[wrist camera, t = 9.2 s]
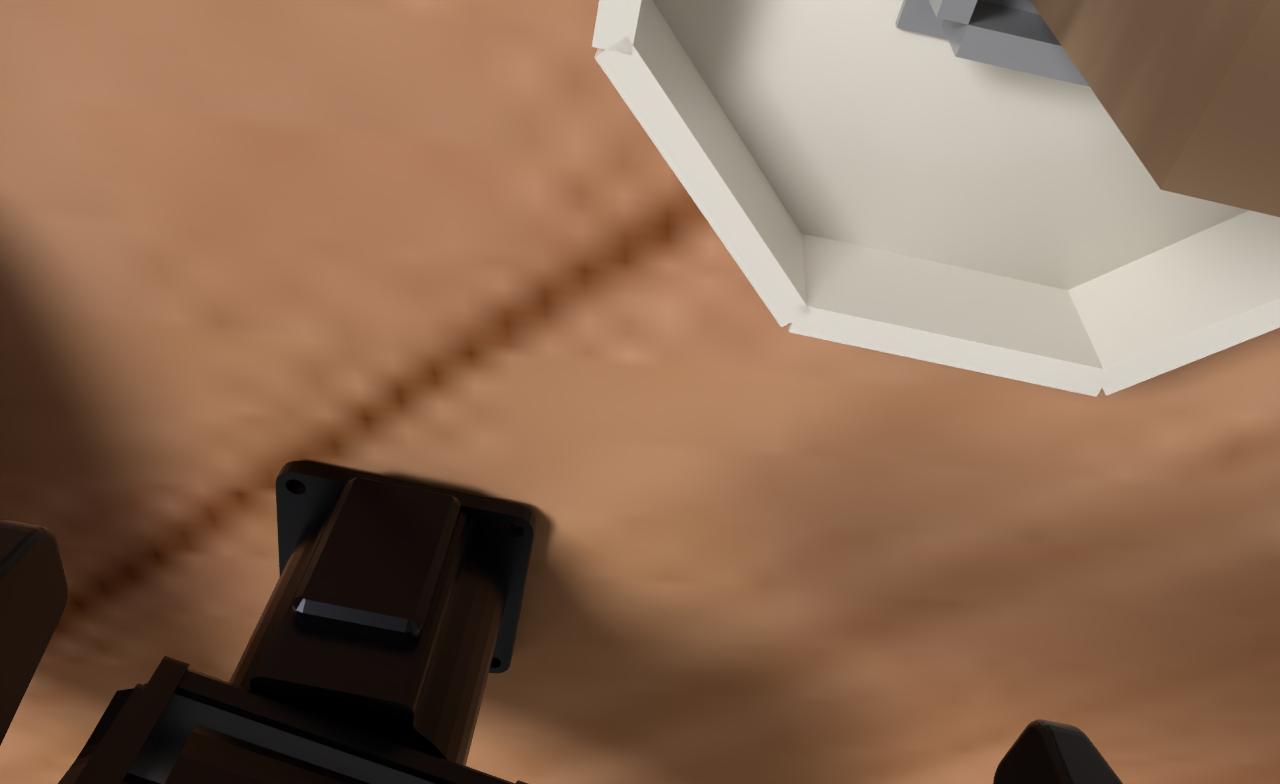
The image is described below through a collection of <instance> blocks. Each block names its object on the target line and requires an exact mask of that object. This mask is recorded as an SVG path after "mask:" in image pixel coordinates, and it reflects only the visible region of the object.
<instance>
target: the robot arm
mask: <svg viewBox="0 0 1280 784" xmlns="http://www.w3.org/2000/svg"><path fill="white" fill-rule="evenodd" d="M294 479H296V480H298V481H301V482H302V483H299V482H297V481H295V480H294ZM276 501H277V523H278V545H279V567H280V578H279V580H278V582H277V585H276V587H275V589H274V591H273V593H272V595H271V597H270V599H269V601H268V603H267V605H266V607H265V609H264V611H263V613H262V616H261V618H260V620H259V622H258V624H257V626H256V628H255V630H254V632H253V634H252V636H251V638H250V640H249V642H248V644H247V647H246V649H245V651H244V653H243V655H242V657H241V659H240V661H239V663H238V665H237V667H236V669H235V671H234V673H233V676H232V678H231V680H230V682H229V683H228V682H225V681H222V680H219V679H216V678H213V677H211V676H208V675H205V674H202V673H199V672H196V671H193V670H191V669H189V666H190V664H187V663H184V662H181V661H179V660H176V659H173V658H170V657H167V656H165V657H164V658H163V660H162V661H161V663H160V665H159V666H158V668H157V669H156V671H155V673H154V674H153V676H152V677H151V679H150V681H149V682H148V684H145V685H141V684H137V686H136V687H135V688H133V689H127V690H120V691H117V692H116V694H115V695H114V697H113V699H112V700H111V702H110V704H109V706H108V707H107V709H106V711H105V712H104V714H103V716H102V718H101V719H100V721H99V723H98V724H97V726H96V728H95V730H94V731H93V733H92V735H91V736H90V738H89V740H88V741H87V743H86V745H85V746H84V748H83V749H82V751H81V753H80V754H79V756H78V757H77V759H76V760H75V762H74V763H73V764H72V766H71V767H70V769H69V770H68V771H67V772H66V774H65V775H64V776H63V778H62V779H61V780H60V781H59V783H58V784H528V783H525V782H522V781H519V780H518V781H517V782H516V783H512V782H509V781H507V780H504V779H501V778H498V777H495V776H492V775H489V774H487V773H484V772H481V771H478V770H475V769H472V768H470V767H467V766H466V762H467V758H468V754H469V750H470V746H471V742H472V738H473V734H474V730H475V726H476V722H477V718H478V714H479V710H480V706H481V702H482V698H483V693H484V689H485V685H486V681H487V677H488V673H501V672H504V671H506V670H508V668H509V666H510V663H511V658H512V654H513V648H514V643H515V637H516V632H517V626H518V621H519V615H520V610H521V604H522V599H523V593H524V588H525V582H526V577H527V571H528V566H529V560H530V555H531V549H532V544H533V538H534V533H535V527H536V517H535V515H534V514H533V512H532V511H530V510H529V509H528V508H526V507H523V506H520V505H516V504H511V503H506V502H501V501H496V500H491V499H486V498H481V497H476V496H471V495H466V494H461V493H456V492H451V491H446V490H441V489H436V488H431V487H426V486H421V485H416V484H411V483H406V482H401V481H396V480H391V479H386V478H381V477H376V476H371V475H366V474H361V473H356V472H351V471H345V470H340V469H335V468H330V467H325V466H320V465H315V464H310V463H305V462H298V461H292V462H289V463H287V464H285V465H284V466H283V468H282V469H281V471H280V473H279V475H278V477H277V480H276ZM511 523H516V524H519V525H521V526H515V525H512V524H511ZM66 599H67V582H66V578H65V574H64V570H63V566H62V562H61V558H60V554H59V550H58V546H57V541H56V538H55V535H54V533H53V532H52V531H51V530H50V529H49V528H47V527H44V526H40V525H35V524H30V523H24V522H19V521H14V520H2V521H0V745H1V743H2V741H3V739H4V737H5V734H6V732H7V730H8V728H9V726H10V724H11V722H12V720H13V717H14V715H15V713H16V711H17V709H18V707H19V705H20V703H21V700H22V698H23V696H24V694H25V692H26V690H27V688H28V685H29V683H30V681H31V679H32V677H33V675H34V673H35V671H36V668H37V666H38V664H39V662H40V660H41V658H42V656H43V653H44V651H45V649H46V647H47V645H48V643H49V641H50V639H51V636H52V634H53V632H54V630H55V628H56V626H57V624H58V621H59V619H60V617H61V615H62V613H63V610H64V607H65V604H66ZM993 784H1123V783H1122V782H1121V780H1120V779H1119V778H1118V776H1117V775H1116V774H1115V773H1114V771H1113V770H1112V769H1111V767H1110V766H1109V765H1108V763H1107V762H1106V761H1105V759H1104V758H1103V757H1102V755H1101V754H1100V753H1099V751H1098V750H1097V749H1096V747H1095V746H1094V745H1093V743H1092V742H1091V741H1090V739H1089V738H1088V737H1087V736H1086V735H1085V734H1084V733H1083V732H1082V731H1081V730H1080V729H1078V728H1077V727H1074V726H1071V725H1067V724H1062V723H1057V722H1052V721H1046V720H1035V721H1033V722H1031V723H1030V724H1029V725H1028V726H1027V727H1026V728H1025V730H1024V731H1023V732H1022V734H1021V735H1020V736H1019V738H1018V739H1017V740H1016V742H1015V743H1014V744H1013V746H1012V747H1011V748H1010V750H1009V751H1008V752H1007V754H1006V755H1005V756H1004V758H1003V759H1002V760H1001V762H1000V763H999V765H998V767H997V770H996V772H995V776H994V782H993Z"/></svg>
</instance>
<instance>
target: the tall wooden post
mask: <svg viewBox="0 0 1280 784" xmlns="http://www.w3.org/2000/svg"><path fill="white" fill-rule="evenodd" d="M1030 1H1031V2H1032V4H1033V5H1034V7H1035V8H1036V9H1037V11H1038V12H1039V14H1040V15H1041V17H1042V18H1043V20H1044V21H1045V22H1046V24H1047V25H1048V27H1049V28H1050V30H1051V31H1052V33H1053V34H1054V36H1055V37H1056V38H1057V40H1058V41H1059V43H1060V44H1061V46H1062V47H1063V49H1064V50H1065V52H1066V53H1067V54H1068V56H1069V57H1070V59H1071V60H1072V62H1073V63H1074V65H1075V66H1076V68H1077V69H1078V70H1079V72H1080V73H1081V75H1082V76H1083V78H1084V79H1085V81H1086V82H1087V84H1088V85H1089V86H1090V88H1091V89H1092V91H1093V92H1094V94H1095V95H1096V97H1097V98H1098V99H1099V101H1100V102H1101V104H1102V105H1103V107H1104V108H1105V110H1106V111H1107V113H1108V114H1109V115H1110V117H1111V118H1112V120H1113V121H1114V123H1115V124H1116V126H1117V127H1118V129H1119V130H1120V131H1121V133H1122V134H1123V136H1124V137H1125V139H1126V140H1127V142H1128V143H1129V145H1130V146H1131V147H1132V149H1133V150H1134V152H1135V153H1136V155H1137V156H1138V158H1139V159H1140V160H1141V162H1142V163H1143V165H1144V166H1145V168H1146V169H1147V171H1148V172H1149V174H1150V175H1151V176H1152V178H1153V179H1154V181H1155V182H1156V184H1157V185H1158V187H1159V188H1160V190H1165V191H1169V192H1173V193H1177V194H1182V195H1186V196H1190V197H1195V198H1199V199H1203V200H1208V201H1212V202H1216V203H1220V204H1225V205H1229V206H1233V207H1238V208H1242V209H1246V210H1251V211H1255V212H1259V213H1263V214H1268V215H1272V216H1276V217H1280V0H1030Z"/></svg>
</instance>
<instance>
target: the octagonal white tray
mask: <svg viewBox="0 0 1280 784" xmlns="http://www.w3.org/2000/svg"><path fill="white" fill-rule="evenodd" d="M592 47H596V48H598V49H597V52H596V55H595V57H594V58H595V59H596V61H597V62H598V63H599V65H600V66H601V68H602V69H603V71H604V72H605V74H606V75H607V76H608V78H609V79H610V81H611V82H612V84H613V85H614V87H615V88H616V89H617V91H618V92H619V94H620V95H621V97H622V98H623V100H624V101H625V102H626V104H627V105H628V107H629V108H630V110H631V111H632V113H633V114H634V115H635V117H636V118H637V120H638V121H639V123H640V124H641V126H642V127H643V128H644V130H645V131H646V133H647V134H648V136H649V137H650V139H651V140H652V141H653V143H654V144H655V146H656V147H657V149H658V150H659V151H660V153H661V154H662V156H663V157H664V159H665V160H666V162H667V163H668V164H669V166H670V167H671V169H672V170H673V172H674V173H675V175H676V176H677V177H678V179H679V180H680V182H681V183H682V185H683V186H684V188H685V189H686V190H687V192H688V193H689V195H690V196H691V198H692V199H693V201H694V202H695V203H696V205H697V206H698V208H699V209H700V211H701V212H702V214H703V215H704V216H705V218H706V219H707V221H708V222H709V224H710V225H711V227H712V228H713V229H714V231H715V232H716V234H717V235H718V237H719V238H720V240H721V241H722V242H723V244H724V245H725V247H726V248H727V250H728V251H729V253H730V254H731V255H732V257H733V258H734V260H735V261H736V263H737V264H738V266H739V267H740V268H741V270H742V271H743V273H744V274H745V276H746V277H747V279H748V280H749V281H750V283H751V284H752V286H753V287H754V289H755V290H756V292H757V293H758V294H759V296H760V297H761V299H762V300H763V302H764V303H765V304H766V306H767V307H768V309H769V310H770V312H771V313H772V315H773V316H774V317H775V319H776V320H777V322H778V323H779V325H780V326H781V327H783V326H785V325H787V324H788V325H789V332H791V333H795V334H800V335H805V336H810V337H814V338H819V339H824V340H829V341H833V342H838V343H843V344H848V345H853V346H857V347H862V348H867V349H872V350H876V351H881V352H886V353H891V354H895V355H900V356H905V357H910V358H914V359H919V360H924V361H929V362H933V363H938V364H943V365H948V366H952V367H957V368H962V369H967V370H971V371H976V372H981V373H986V374H990V375H995V376H1000V377H1005V378H1009V379H1014V380H1019V381H1024V382H1029V383H1033V384H1038V385H1043V386H1048V387H1052V388H1057V389H1062V390H1067V391H1071V392H1076V393H1081V394H1086V395H1090V396H1095V397H1097V395H1098V393H1099V392H1100V390H1101V388H1103V390H1104V392H1105V394H1106V396H1107V395H1110V394H1112V393H1115V392H1117V391H1120V390H1122V389H1125V388H1127V387H1130V386H1132V385H1135V384H1138V383H1140V382H1143V381H1145V380H1148V379H1150V378H1153V377H1155V376H1158V375H1160V374H1163V373H1165V372H1168V371H1171V370H1173V369H1176V368H1178V367H1181V366H1183V365H1186V364H1188V363H1191V362H1193V361H1196V360H1198V359H1201V358H1204V357H1206V356H1209V355H1211V354H1214V353H1216V352H1219V351H1221V350H1224V349H1226V348H1229V347H1231V346H1234V345H1237V344H1239V343H1242V342H1244V341H1247V340H1249V339H1252V338H1254V337H1257V336H1259V335H1262V334H1264V333H1267V332H1270V331H1272V330H1275V329H1277V328H1280V217H1276V216H1272V215H1268V214H1263V213H1259V212H1255V211H1251V210H1246V209H1242V208H1238V207H1233V206H1229V205H1225V204H1220V203H1216V202H1212V201H1208V200H1203V199H1199V198H1195V197H1190V196H1186V195H1182V194H1177V193H1173V192H1169V191H1165V190H1160V188H1159V187H1158V185H1157V184H1156V182H1155V181H1154V179H1153V178H1152V176H1151V175H1150V174H1149V172H1148V171H1147V169H1146V168H1145V166H1144V165H1143V163H1142V162H1141V160H1140V159H1139V158H1138V156H1137V155H1136V153H1135V152H1134V150H1133V149H1132V147H1131V146H1130V145H1129V143H1128V142H1127V140H1126V139H1125V137H1124V136H1123V134H1122V133H1121V131H1120V130H1119V129H1118V127H1117V126H1116V124H1115V123H1114V121H1113V120H1112V118H1111V117H1110V115H1109V114H1108V113H1107V111H1106V110H1105V108H1104V107H1103V105H1102V104H1101V102H1100V101H1099V99H1098V98H1097V97H1096V95H1095V94H1094V92H1093V91H1092V89H1091V88H1090V86H1089V85H1088V84H1087V82H1086V81H1085V79H1084V78H1083V76H1082V75H1081V73H1080V72H1079V70H1078V69H1077V68H1076V66H1075V65H1074V63H1073V62H1072V60H1071V59H1070V57H1069V56H1068V54H1067V53H1066V52H1065V50H1064V49H1063V47H1062V46H1061V44H1060V43H1059V41H1058V40H1057V38H1056V37H1055V36H1054V34H1053V33H1052V31H1051V30H1050V28H1049V27H1048V25H1047V24H1046V22H1045V21H1044V20H1043V18H1042V17H1041V15H1040V14H1039V12H1038V11H1037V9H1036V8H1035V7H1034V5H1033V4H1032V2H1031V1H1030V0H599V6H598V12H597V18H596V24H595V30H594V37H593V43H592Z"/></svg>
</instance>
